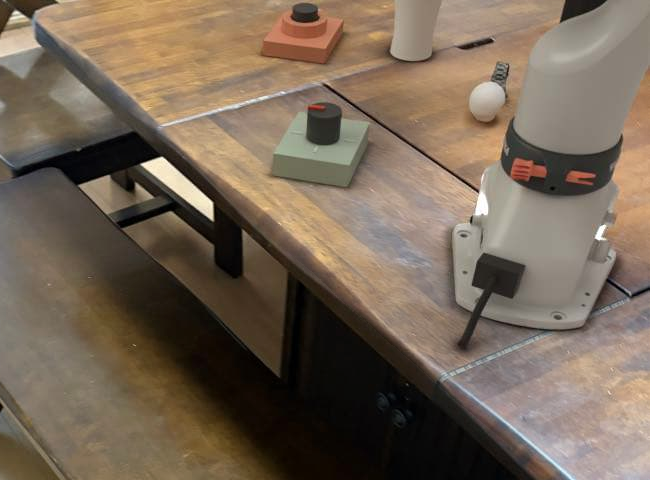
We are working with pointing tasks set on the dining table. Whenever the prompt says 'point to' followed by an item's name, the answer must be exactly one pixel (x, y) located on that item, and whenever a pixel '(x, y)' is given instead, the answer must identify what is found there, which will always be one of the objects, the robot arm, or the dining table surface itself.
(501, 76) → the wristwatch
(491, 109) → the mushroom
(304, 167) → the panel
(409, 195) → the dining table surface
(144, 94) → the dining table surface
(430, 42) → the cup
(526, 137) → the robot arm
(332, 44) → the button base
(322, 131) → the dial
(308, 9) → the dark grey puck
